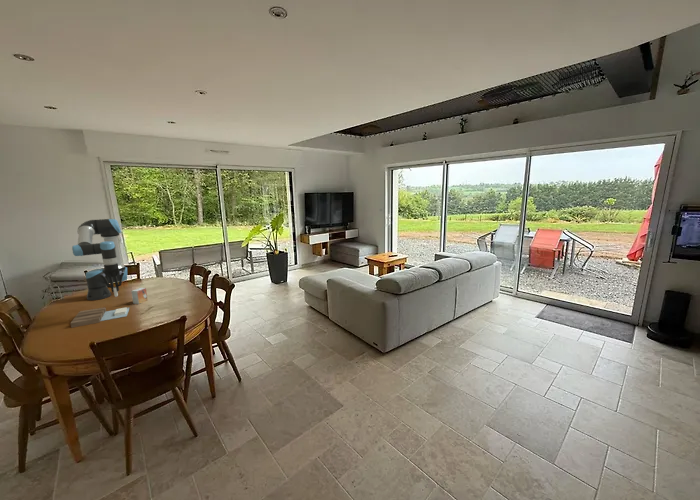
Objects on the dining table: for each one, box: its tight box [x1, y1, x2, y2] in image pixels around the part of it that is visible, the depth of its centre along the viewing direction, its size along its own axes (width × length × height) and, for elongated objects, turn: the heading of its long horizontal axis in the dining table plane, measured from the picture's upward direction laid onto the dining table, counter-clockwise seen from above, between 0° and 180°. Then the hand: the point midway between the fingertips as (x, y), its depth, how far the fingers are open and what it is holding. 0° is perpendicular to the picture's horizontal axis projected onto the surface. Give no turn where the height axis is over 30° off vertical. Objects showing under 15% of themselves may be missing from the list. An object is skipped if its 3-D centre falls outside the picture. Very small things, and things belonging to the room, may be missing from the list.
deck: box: [70, 306, 107, 329], centre depth 193 cm, size 22×14×3 cm, turn 32°
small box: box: [130, 287, 149, 305], centre depth 222 cm, size 8×6×10 cm
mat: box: [100, 307, 130, 322], centre depth 201 cm, size 18×14×1 cm
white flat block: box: [114, 307, 128, 316], centre depth 202 cm, size 9×6×2 cm, turn 32°
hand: (116, 295), depth 200 cm, fingers closed
